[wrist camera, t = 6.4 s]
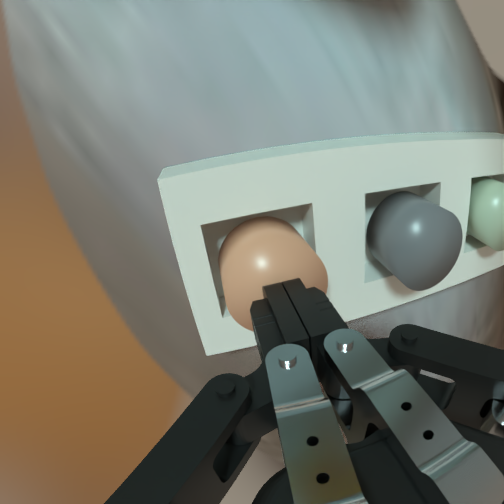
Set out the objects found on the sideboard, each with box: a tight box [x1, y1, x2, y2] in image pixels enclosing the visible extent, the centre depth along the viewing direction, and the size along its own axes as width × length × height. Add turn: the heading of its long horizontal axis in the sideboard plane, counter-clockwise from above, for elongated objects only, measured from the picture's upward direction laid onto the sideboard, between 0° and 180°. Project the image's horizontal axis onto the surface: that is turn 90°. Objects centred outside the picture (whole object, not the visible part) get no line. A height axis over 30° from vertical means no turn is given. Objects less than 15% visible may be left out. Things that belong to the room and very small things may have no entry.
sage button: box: [466, 176, 504, 251], centre depth 17 cm, size 4×4×3 cm
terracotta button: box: [218, 216, 328, 332], centre depth 15 cm, size 4×4×3 cm
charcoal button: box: [366, 191, 463, 291], centre depth 15 cm, size 4×4×3 cm
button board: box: [157, 132, 504, 356], centre depth 18 cm, size 10×24×3 cm, turn 98°
